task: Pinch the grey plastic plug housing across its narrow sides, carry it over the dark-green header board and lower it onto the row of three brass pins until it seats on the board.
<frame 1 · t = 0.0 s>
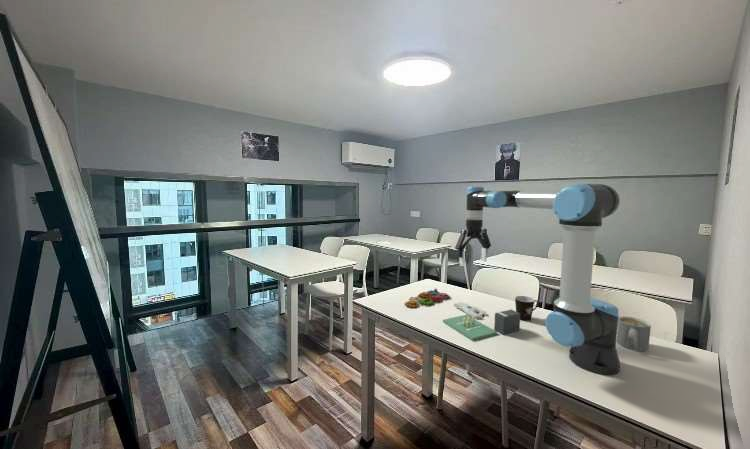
hand: (472, 262, 146), 28 cm above the table, fingers open, 13 cm apart
coffee mug: (526, 319, 148), on the table
plug: (506, 330, 136), on the table
gun: (469, 313, 156), on the table
board: (468, 327, 138), on the table
coffee mug 2: (630, 346, 122), on the table
gear puzzle: (424, 301, 174), on the table
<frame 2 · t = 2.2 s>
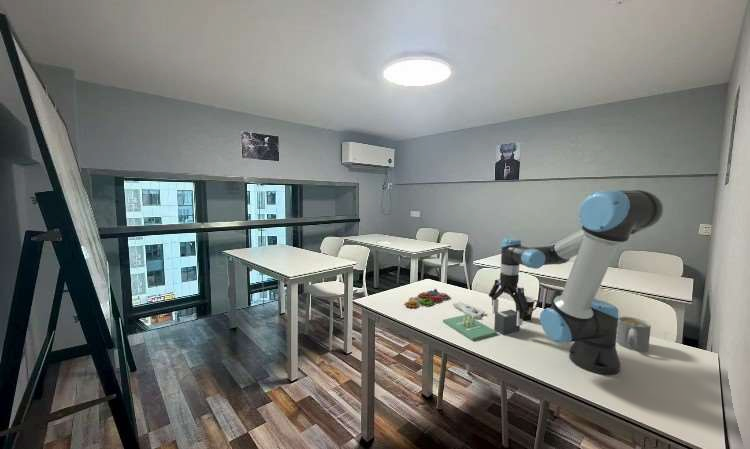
hand: (506, 318, 136), 5 cm above the table, fingers open, 13 cm apart
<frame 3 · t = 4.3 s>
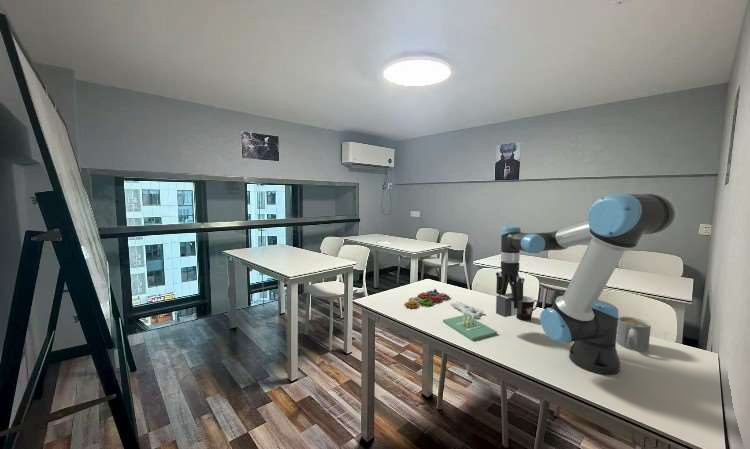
hand: (508, 312, 134), 9 cm above the table, fingers closed on plug, 5 cm apart
plug: (508, 313, 134), point 8 cm above the table, touching gripper
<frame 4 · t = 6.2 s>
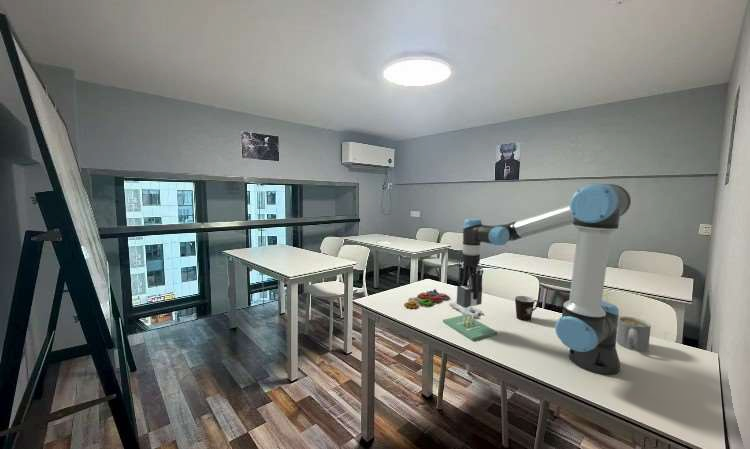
hand: (468, 303, 137), 12 cm above the table, fingers closed on plug, 5 cm apart
plug: (469, 303, 137), point 11 cm above the table, touching gripper
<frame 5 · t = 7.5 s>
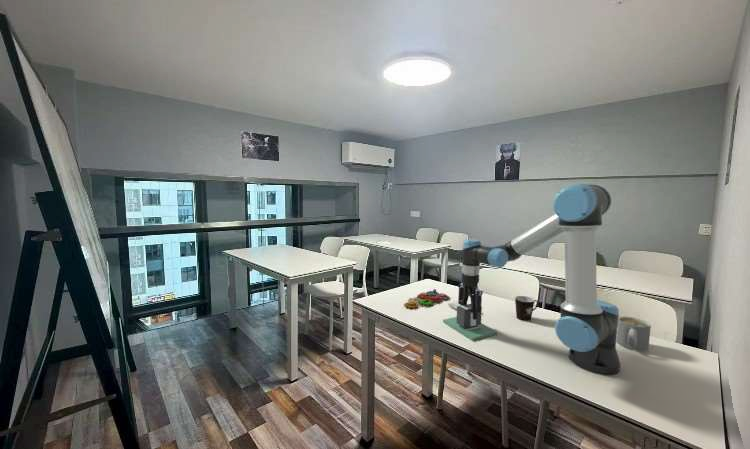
hand: (468, 322, 138), 2 cm above the table, fingers closed on plug, 5 cm apart
plug: (468, 323, 138), point 2 cm above the table, touching gripper
when the fingers open (2 cm above the table, at t = 8.3 s): plug stays where it is, resting on board.
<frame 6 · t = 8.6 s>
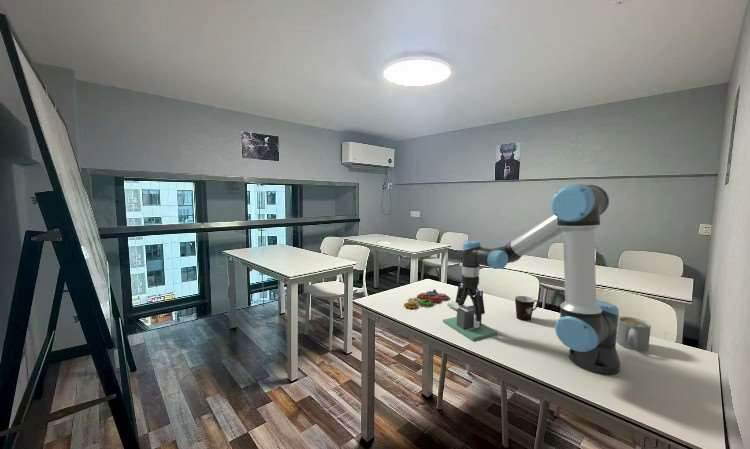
hand: (468, 322, 138), 2 cm above the table, fingers open, 9 cm apart
plug: (468, 325, 138), point 1 cm above the table, touching board
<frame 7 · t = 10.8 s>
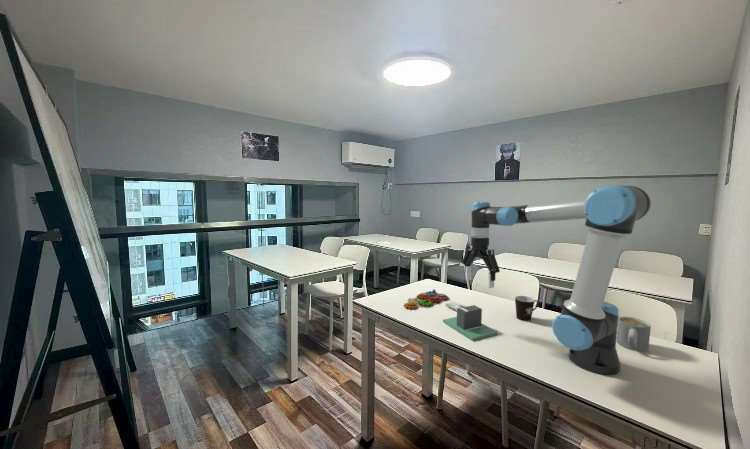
hand: (479, 283, 135), 21 cm above the table, fingers open, 13 cm apart
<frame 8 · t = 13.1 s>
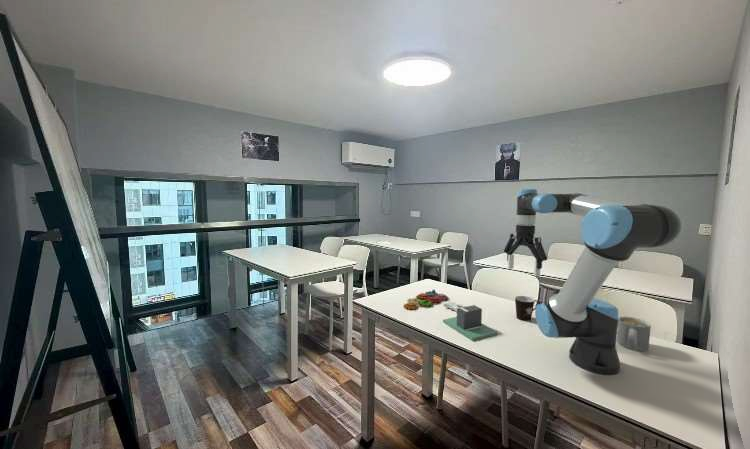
hand: (523, 272, 134), 27 cm above the table, fingers open, 13 cm apart
at the end: plug 0.0 cm off-centre on the board, point 1.2 cm above the board's base; plug tilted 0°; the gripper is holding nothing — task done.
